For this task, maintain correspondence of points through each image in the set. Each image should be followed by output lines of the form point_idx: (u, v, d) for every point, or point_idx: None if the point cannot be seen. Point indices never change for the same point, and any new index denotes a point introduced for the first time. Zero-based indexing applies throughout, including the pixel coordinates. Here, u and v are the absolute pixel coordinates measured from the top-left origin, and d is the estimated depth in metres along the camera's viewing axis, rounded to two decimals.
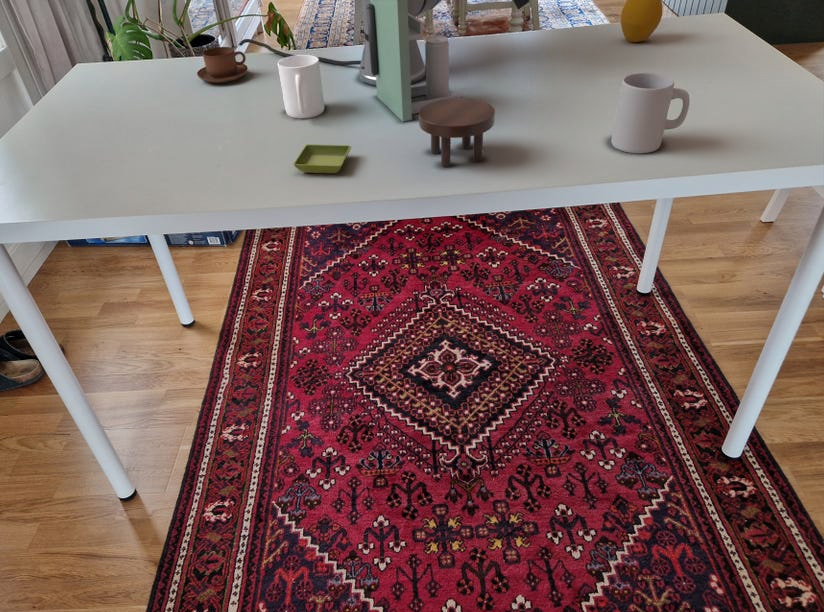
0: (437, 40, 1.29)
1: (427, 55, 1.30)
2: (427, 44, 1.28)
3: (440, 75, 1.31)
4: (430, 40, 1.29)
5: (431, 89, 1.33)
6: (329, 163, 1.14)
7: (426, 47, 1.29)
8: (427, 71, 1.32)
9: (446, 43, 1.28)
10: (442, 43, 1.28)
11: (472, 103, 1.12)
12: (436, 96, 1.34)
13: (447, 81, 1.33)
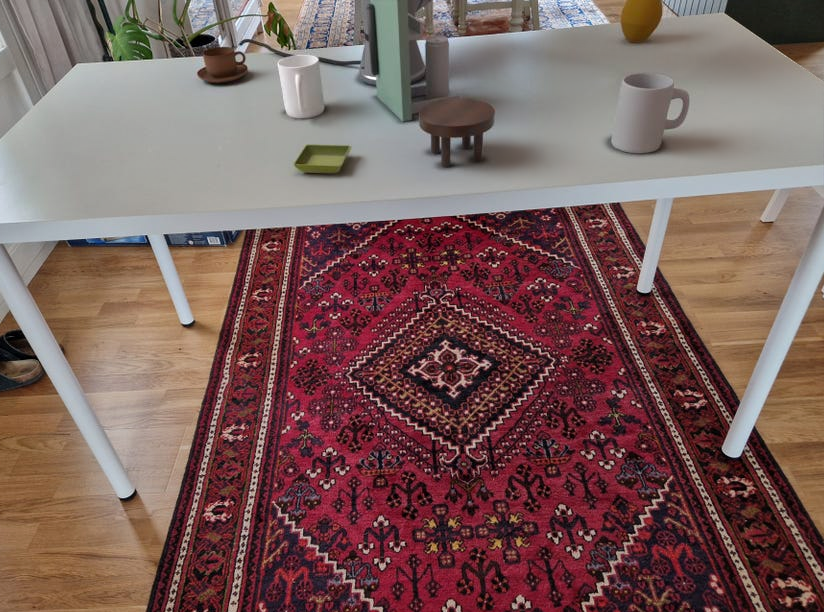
0: (437, 40, 1.29)
1: (427, 55, 1.30)
2: (427, 44, 1.28)
3: (440, 75, 1.31)
4: (430, 40, 1.29)
5: (431, 89, 1.33)
6: (329, 163, 1.14)
7: (426, 47, 1.29)
8: (427, 71, 1.32)
9: (446, 43, 1.28)
10: (442, 43, 1.28)
11: (472, 103, 1.12)
12: (436, 96, 1.34)
13: (447, 81, 1.33)
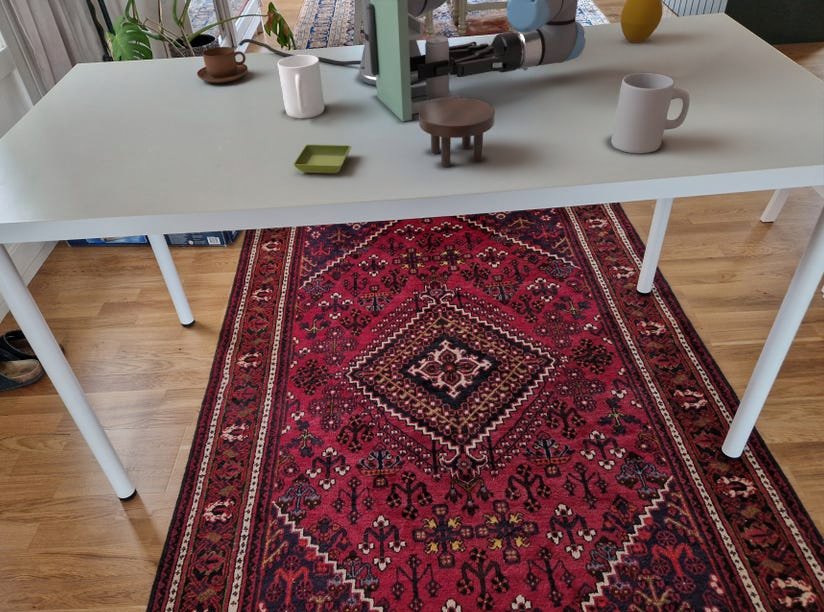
0: (437, 40, 1.29)
1: (427, 55, 1.30)
2: (427, 44, 1.28)
3: None
4: (430, 40, 1.29)
5: (431, 89, 1.33)
6: (329, 163, 1.14)
7: (426, 47, 1.29)
8: None
9: (446, 43, 1.28)
10: (442, 43, 1.28)
11: (472, 103, 1.12)
12: (436, 96, 1.34)
13: (447, 81, 1.33)
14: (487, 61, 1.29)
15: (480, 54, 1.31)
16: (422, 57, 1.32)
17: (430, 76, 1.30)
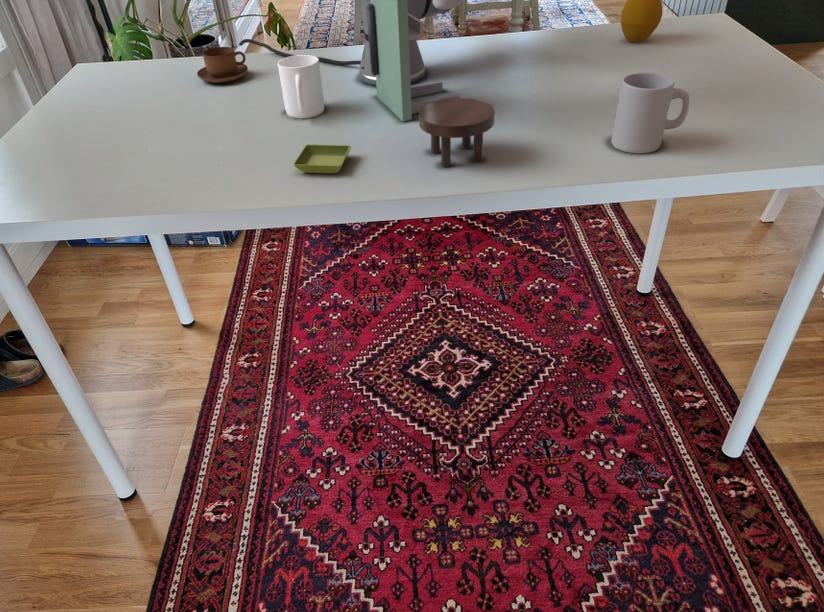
0: None
1: None
2: None
3: None
4: None
5: None
6: (329, 163, 1.14)
7: None
8: None
9: None
10: None
11: (472, 103, 1.12)
12: None
13: None
14: None
15: None
16: None
17: None
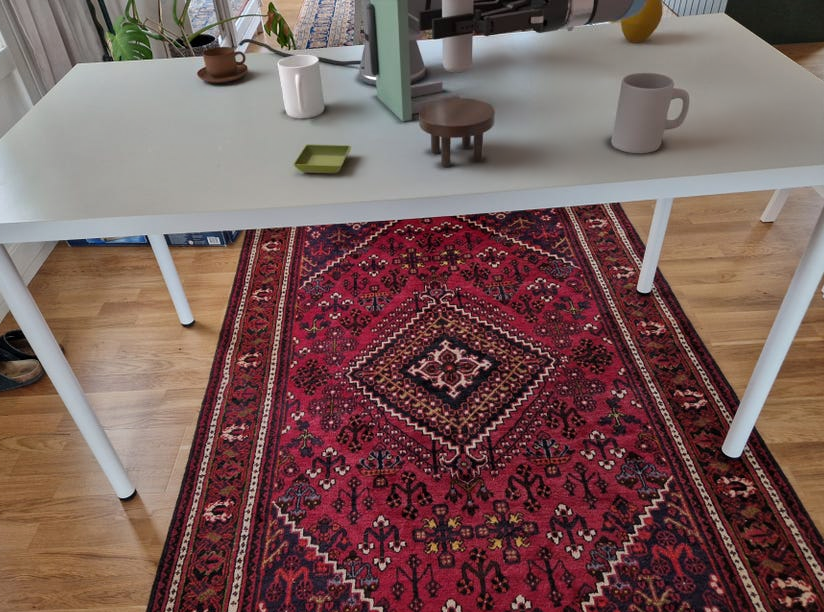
0: None
1: (445, 7, 0.98)
2: None
3: None
4: None
5: (449, 53, 1.02)
6: (329, 163, 1.14)
7: None
8: None
9: None
10: None
11: (472, 103, 1.12)
12: (456, 62, 1.02)
13: (470, 43, 1.02)
14: (524, 14, 0.97)
15: (514, 6, 1.00)
16: (437, 11, 1.01)
17: (448, 35, 0.98)
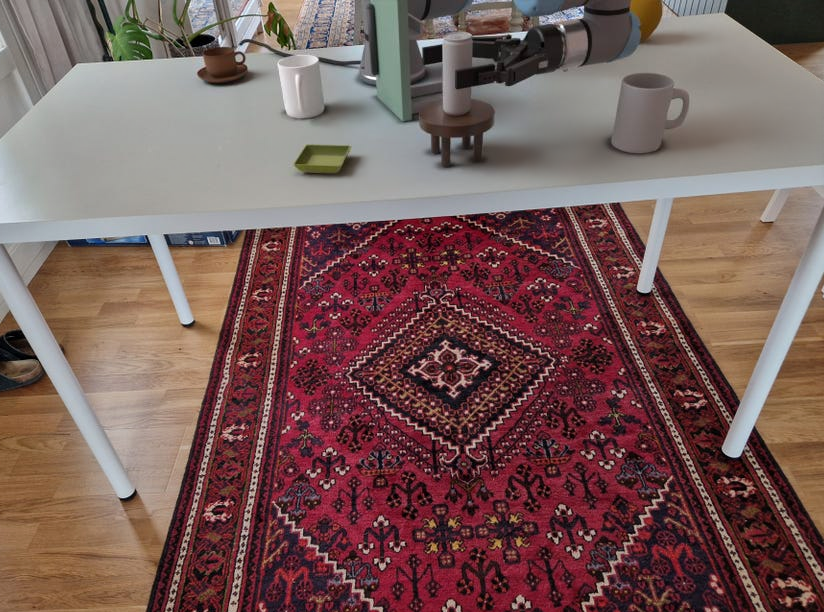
0: (458, 37, 1.02)
1: (445, 56, 1.03)
2: (445, 42, 1.02)
3: None
4: (449, 37, 1.02)
5: (449, 98, 1.06)
6: (329, 163, 1.14)
7: (444, 46, 1.02)
8: (445, 76, 1.05)
9: (469, 40, 1.01)
10: (464, 40, 1.01)
11: (472, 103, 1.12)
12: (456, 106, 1.07)
13: (469, 88, 1.06)
14: (534, 61, 1.01)
15: (520, 53, 1.03)
16: (440, 47, 1.09)
17: (470, 85, 1.00)
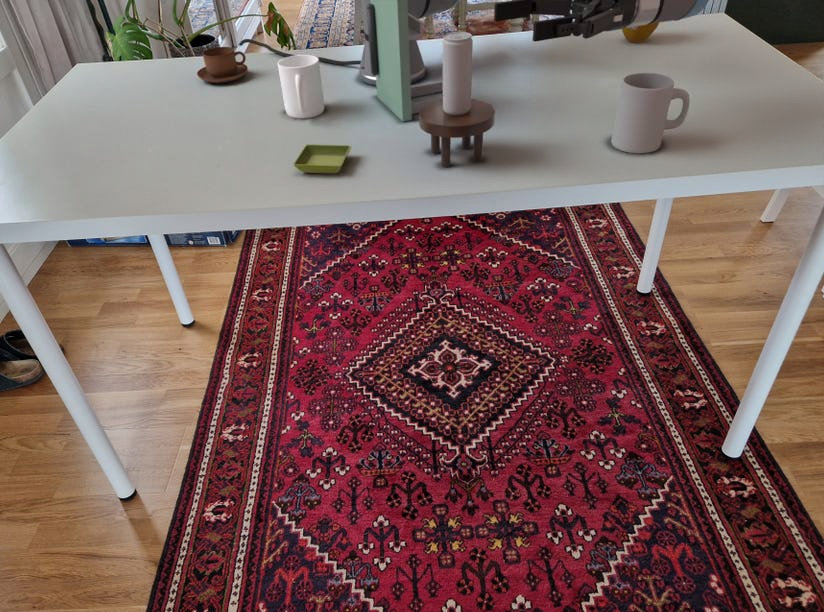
0: (458, 37, 1.02)
1: (445, 56, 1.03)
2: (445, 42, 1.02)
3: (461, 81, 1.04)
4: (449, 37, 1.02)
5: (449, 98, 1.06)
6: (329, 163, 1.14)
7: (444, 46, 1.02)
8: (445, 76, 1.05)
9: (469, 40, 1.01)
10: (464, 40, 1.01)
11: (472, 103, 1.12)
12: (456, 106, 1.07)
13: (469, 88, 1.06)
14: (611, 14, 1.02)
15: (595, 7, 1.04)
16: (512, 3, 1.09)
17: (548, 37, 1.01)
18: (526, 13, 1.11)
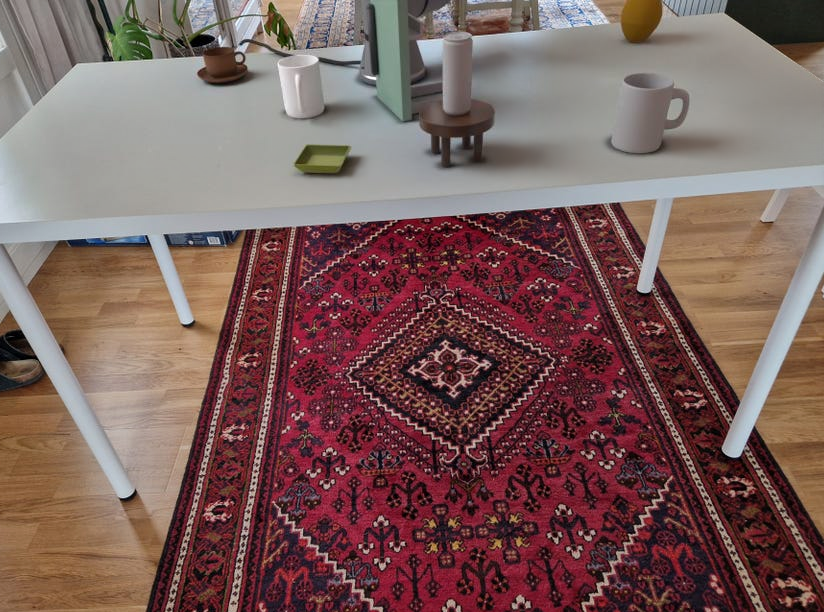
0: (458, 37, 1.02)
1: (445, 56, 1.03)
2: (445, 42, 1.02)
3: (461, 81, 1.04)
4: (449, 37, 1.02)
5: (449, 98, 1.06)
6: (329, 163, 1.14)
7: (444, 46, 1.02)
8: (445, 76, 1.05)
9: (469, 40, 1.01)
10: (464, 40, 1.01)
11: (472, 103, 1.12)
12: (456, 106, 1.07)
13: (469, 88, 1.06)
14: None
15: None
16: None
17: None
18: None
